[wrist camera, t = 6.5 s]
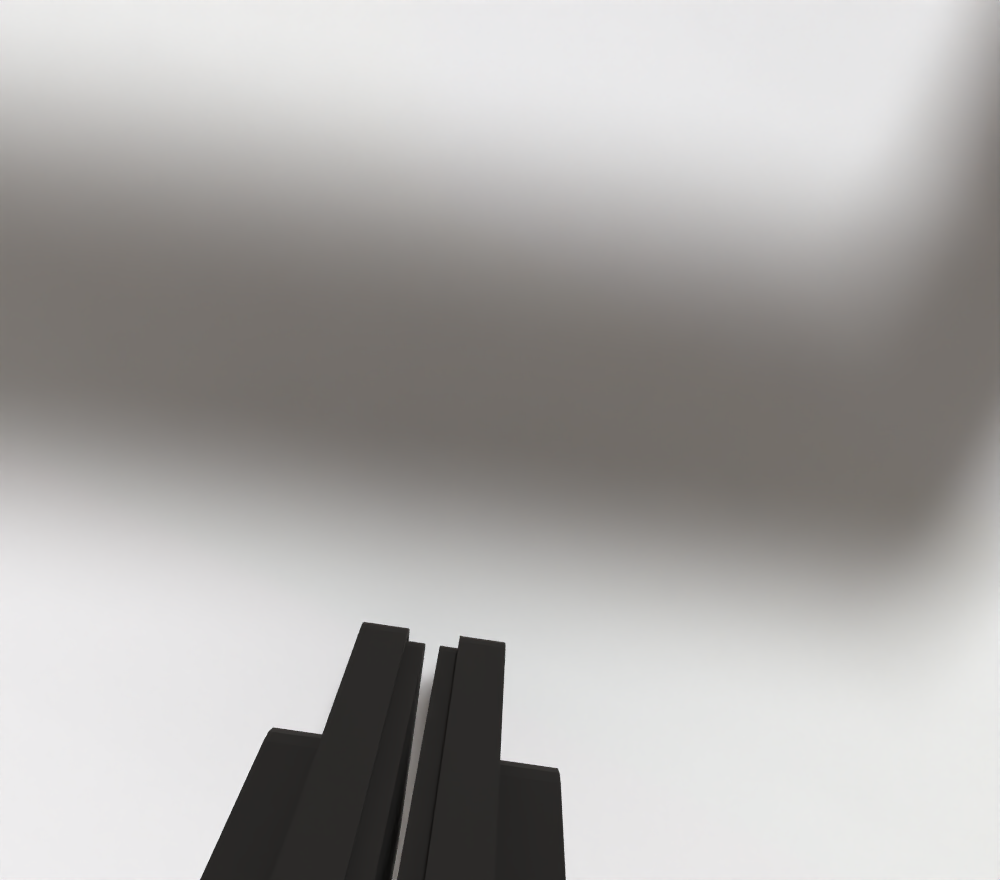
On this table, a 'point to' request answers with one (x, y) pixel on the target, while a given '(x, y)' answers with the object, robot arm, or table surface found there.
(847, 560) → the table surface
